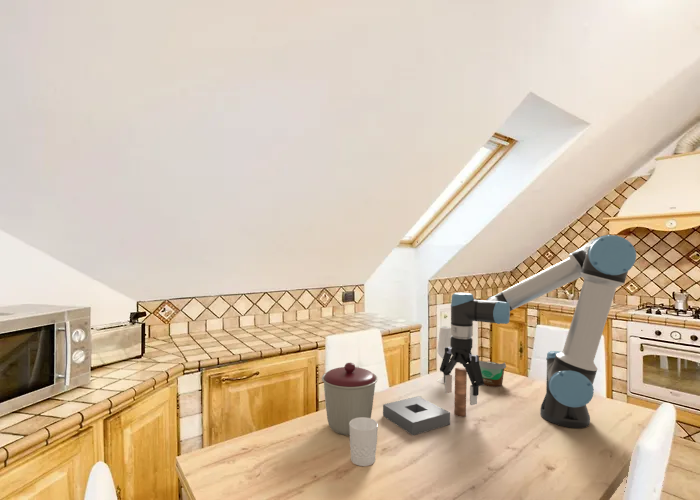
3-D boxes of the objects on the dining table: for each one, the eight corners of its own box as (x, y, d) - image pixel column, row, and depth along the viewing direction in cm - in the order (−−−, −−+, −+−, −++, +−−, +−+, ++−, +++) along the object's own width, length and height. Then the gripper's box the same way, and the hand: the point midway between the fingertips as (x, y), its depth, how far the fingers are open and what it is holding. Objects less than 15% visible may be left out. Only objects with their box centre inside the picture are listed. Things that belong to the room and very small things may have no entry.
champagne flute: (446, 377, 174) (447, 325, 174) (455, 382, 168) (456, 328, 168) (434, 379, 172) (434, 326, 172) (442, 384, 165) (443, 329, 165)
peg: (468, 415, 135) (469, 370, 135) (460, 417, 133) (461, 371, 133) (459, 411, 138) (460, 366, 138) (451, 413, 136) (452, 368, 136)
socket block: (449, 424, 127) (450, 412, 127) (412, 435, 119) (412, 422, 119) (418, 406, 141) (418, 396, 141) (382, 415, 133) (383, 404, 133)
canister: (329, 413, 134) (330, 353, 134) (380, 418, 131) (381, 357, 131) (313, 438, 117) (315, 369, 117) (372, 445, 113) (373, 374, 113)
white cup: (349, 451, 109) (349, 416, 109) (376, 452, 109) (377, 417, 109) (348, 467, 101) (348, 429, 101) (377, 468, 101) (378, 430, 101)
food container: (473, 384, 166) (474, 361, 166) (476, 380, 171) (476, 358, 171) (504, 390, 160) (504, 366, 160) (505, 385, 165) (506, 362, 165)
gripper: (430, 331, 144) (429, 389, 144) (480, 345, 123) (479, 412, 123) (445, 329, 147) (444, 385, 147) (496, 342, 127) (495, 408, 127)
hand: (460, 398), depth 135 cm, fingers open, 11 cm apart
